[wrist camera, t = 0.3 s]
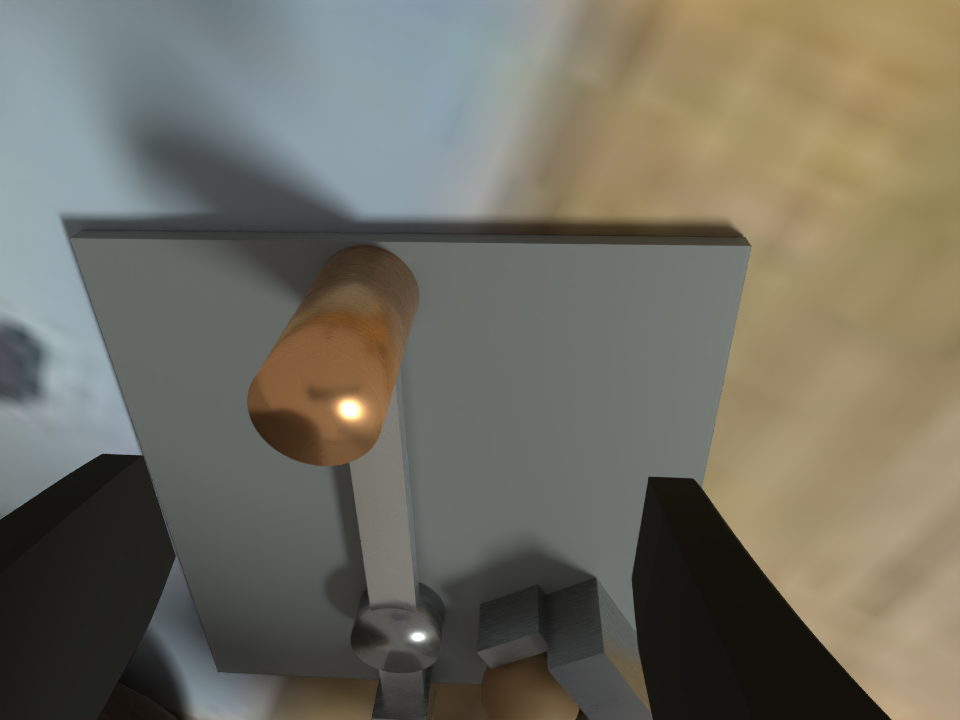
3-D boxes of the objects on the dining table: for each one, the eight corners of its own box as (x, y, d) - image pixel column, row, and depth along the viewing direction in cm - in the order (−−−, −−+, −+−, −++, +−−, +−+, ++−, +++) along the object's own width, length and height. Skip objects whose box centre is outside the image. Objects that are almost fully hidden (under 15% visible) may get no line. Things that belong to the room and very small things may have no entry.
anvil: (660, 666, 27) (673, 744, 24) (558, 695, 28) (561, 772, 26) (588, 566, 24) (595, 641, 22) (480, 604, 25) (474, 679, 23)
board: (657, 679, 28) (659, 693, 28) (223, 659, 29) (218, 672, 29) (745, 237, 18) (751, 245, 18) (81, 230, 19) (69, 238, 19)
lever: (450, 693, 28) (434, 846, 24) (373, 689, 29) (341, 840, 24) (423, 245, 18) (385, 356, 13) (303, 244, 18) (224, 353, 14)
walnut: (574, 680, 27) (580, 773, 24) (483, 675, 28) (478, 768, 25) (580, 620, 26) (587, 714, 23) (482, 616, 26) (476, 708, 23)
